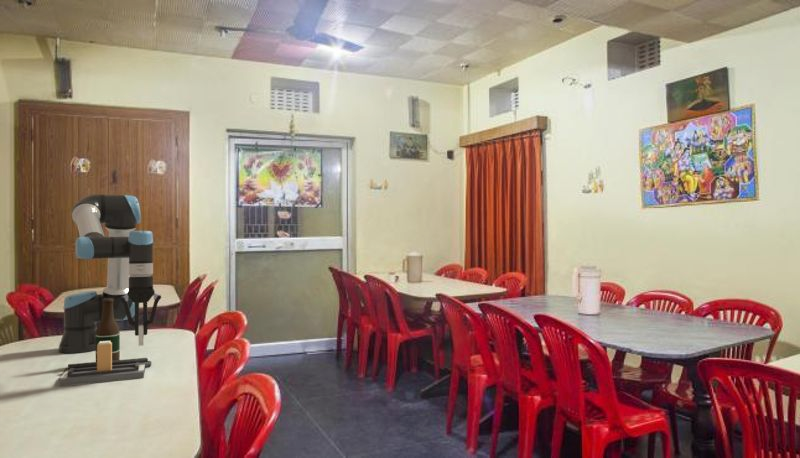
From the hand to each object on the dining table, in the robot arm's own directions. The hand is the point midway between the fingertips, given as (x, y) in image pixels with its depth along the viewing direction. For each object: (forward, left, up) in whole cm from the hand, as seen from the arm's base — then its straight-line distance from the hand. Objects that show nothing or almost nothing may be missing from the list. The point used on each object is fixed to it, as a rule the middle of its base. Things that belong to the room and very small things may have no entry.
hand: (141, 344), depth 186 cm
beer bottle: (-20, -12, -10) cm, 26 cm away
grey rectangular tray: (0, -11, -10) cm, 15 cm away
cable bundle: (-10, -11, -10) cm, 18 cm away
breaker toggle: (0, -11, -8) cm, 14 cm away
